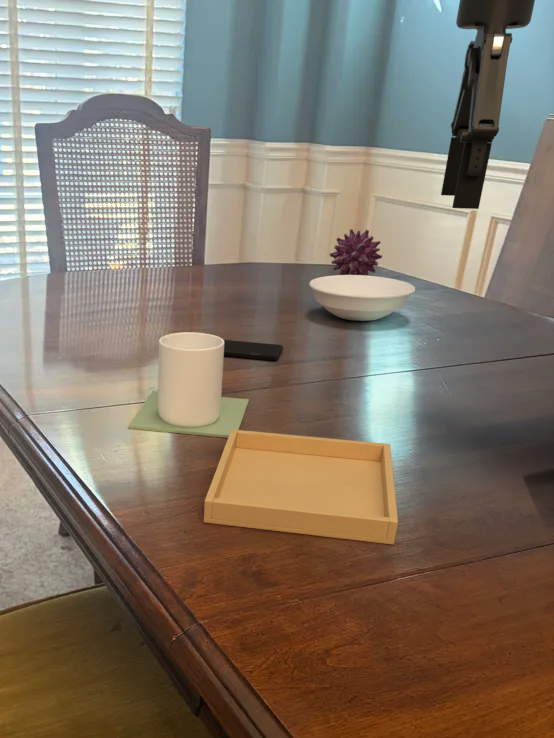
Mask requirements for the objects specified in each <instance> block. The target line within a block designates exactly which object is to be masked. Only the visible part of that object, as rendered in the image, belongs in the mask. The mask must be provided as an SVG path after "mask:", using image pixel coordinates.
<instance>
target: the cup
mask: <svg viewBox="0 0 554 738" xmlns="http://www.w3.org/2000/svg"><path fill="white" fill-rule="evenodd" d="M224 340H225V339H223V338H222V337H220V336H218V335H215V334H210V333H206V332H205V333H204V332H194V331H193V332H192V331H191V332H189V331H187V332H175V333H174V332H173V333H169V334H166V335H163V336H161V337H160V338H159V339H158V377H157V379H158V381H157V385H158V386H157V387H158V389H157V392H158V412H159V416H160V417H161V419H162V420H163V421H165V422H166V423H169V424H172V425H175V426H182V427H200V426H206V425H209V424H212V423H214V422H215V421H216V420H217V419H218V418H219V415H220V410H221V397H222V392H223V375H224V374H223V373H224V358H225V356H224Z"/></svg>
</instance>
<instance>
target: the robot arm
mask: <svg viewBox="0 0 554 738" xmlns="http://www.w3.org/2000/svg"><path fill="white" fill-rule="evenodd" d="M535 2H536V0H459V3H458V9H457V15H456V20H455V21H456V22H455V24H456V26H457V28H459V29H461V30H476V31H477V32H476V36H475V39H474V40H470V42H469V44H468V45H467V49H466V53H465V56H464V68H463V72H462V77H461V83H460V88H459V92H458V97H457V100H456V105H455V110H454V114H453V118H452V121H451V123H450V128H451V137H450V141H449V142H450V143H449V149H448V153H447V159H446V165H445V169H444V175H443V181H442V185H441V193H440V195H441V196H447V197H448V196H449V197H450V196H451V197H453V202H452V207H451V208H452V209H469V210H479V208H480V203H481V198H482V193H483V189H484V184H485V180H486V174H487V169H488V164H489V160H490V154H491V150H492V145H493V141H494V139H495V137H497V135H498V133H499V132H500V127H499V125H500V119H501V110H502V104H503V103H502V102H503V96H504V90H505V89H504V88H505V81H506V73H507V68H508V67H507V66H508V60H509V59H508V58H509V56H510V55H509V53H510V48H511V44H512V43H513V33H512V32H507V30H515V29H522V28H526V27H528V25H529V24H530V23H531V20H532V16H533V12H534V7H535Z"/></svg>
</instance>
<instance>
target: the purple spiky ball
mask: <svg viewBox="0 0 554 738" xmlns="http://www.w3.org/2000/svg"><path fill="white" fill-rule="evenodd" d="M369 233H370V230H369V229H365V230H364V232H362V233H361V230H357V231H356V233H355V232H354V229H353V228H352V229H351V228H350V229H349V233H348V235H347V233H344V234H343V237H344V238H340V237H336V239H335V241H336V242H337V245H336V244H335V245H334V246H333V249H334V250H335V251H334V252H330V253H329V257H332V258H333V260H331V265H334V267H333V268H332V271H336V270H339V272H338V273H337V275H365V276H370V275H369V272H370V273H373V274H375V273H376V269H375V267H377V266H378V265H379V262H378V261H377V260H379V259H380V260H381V259H382V257H383V255H382V254H379V253H378V252H380V251H381V248H380V247H378V246H379V245H380V244H381V240H378V241H373V240H374V238H375V237H374V236H372V235H369ZM374 266H375V267H374Z"/></svg>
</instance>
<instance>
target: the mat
mask: <svg viewBox="0 0 554 738" xmlns="http://www.w3.org/2000/svg"><path fill="white" fill-rule="evenodd" d="M249 403H250V399H249V398H238V397H225V396H221V410H220V415H219V418H218V419H217V420H216V421H215V422H214V423H212V424H209V425H206V426H200V427H182V426H175V425H172V424H169V423H166V422H165V421H163V420H162V419H161V417H160V416H159V412H158V391H155V390H154V391H153V390H152V391H151V393H150V394H149V396H148V397H147V399H146V400H145V401H144V403H143V405H142V406H141V407H140V409H139V410H138V412H136V414H135V416H134V417H133V419H132V420H131V421H130V423H129V425H128V429H129V430H140V431H151V432H163V433H170V434H171V433H172V434H173V433H174V434H182V435H192V436H193V435H195V436H204V437H212V438H213V437H214V438H225V439H228V437H229V435H230V432H231V430H241V429H240V428H241V426H242V422H243V421H244V418H245V414H246V411H247V408H248V406H249Z"/></svg>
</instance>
